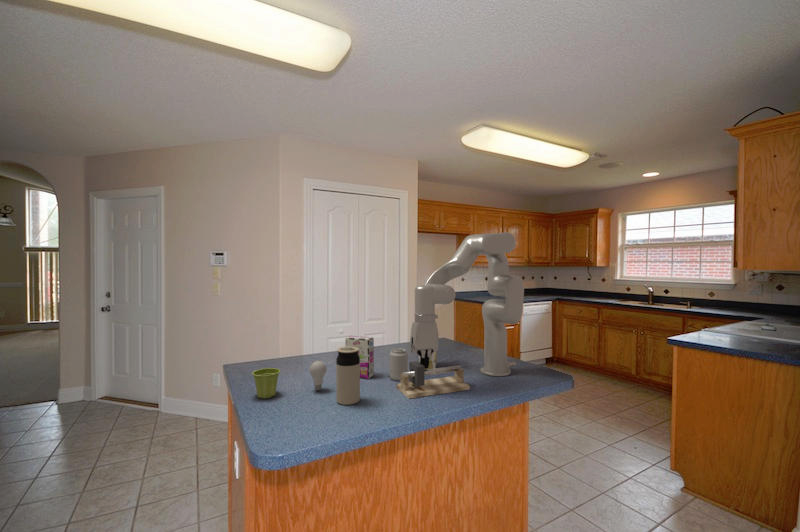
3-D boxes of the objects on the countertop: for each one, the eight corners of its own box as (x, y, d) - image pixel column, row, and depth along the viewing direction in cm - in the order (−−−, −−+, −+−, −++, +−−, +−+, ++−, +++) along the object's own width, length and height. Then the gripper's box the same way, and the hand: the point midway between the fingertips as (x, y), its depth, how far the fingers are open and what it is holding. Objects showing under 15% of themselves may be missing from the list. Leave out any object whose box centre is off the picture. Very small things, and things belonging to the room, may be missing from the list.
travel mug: (349, 407, 119) (349, 352, 119) (331, 402, 123) (331, 349, 123) (364, 399, 126) (364, 347, 126) (346, 395, 130) (346, 345, 130)
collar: (416, 379, 138) (416, 361, 138) (424, 385, 131) (424, 366, 131) (409, 380, 137) (409, 362, 137) (417, 386, 130) (416, 367, 130)
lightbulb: (329, 388, 136) (329, 359, 136) (320, 394, 131) (320, 364, 131) (315, 387, 138) (315, 358, 138) (306, 392, 133) (306, 362, 133)
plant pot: (252, 393, 132) (252, 369, 132) (279, 389, 136) (279, 366, 136) (252, 402, 124) (252, 376, 124) (281, 398, 127) (281, 373, 127)
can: (405, 382, 144) (405, 352, 144) (387, 380, 146) (387, 351, 146) (409, 376, 152) (409, 347, 151) (391, 375, 153) (391, 346, 153)
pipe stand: (453, 379, 147) (453, 363, 147) (469, 389, 136) (469, 372, 136) (396, 387, 138) (396, 370, 137) (408, 398, 126) (408, 380, 126)
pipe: (458, 370, 142) (458, 364, 142) (461, 371, 140) (461, 365, 140) (402, 377, 133) (402, 371, 133) (404, 379, 131) (404, 372, 131)
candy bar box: (374, 376, 152) (374, 337, 152) (368, 379, 147) (368, 339, 147) (351, 373, 156) (351, 335, 156) (345, 376, 152) (345, 337, 151)
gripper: (437, 316, 141) (437, 363, 142) (402, 318, 136) (402, 367, 136) (447, 318, 134) (447, 368, 135) (410, 321, 129) (410, 372, 129)
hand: (424, 367), depth 135 cm, fingers closed
